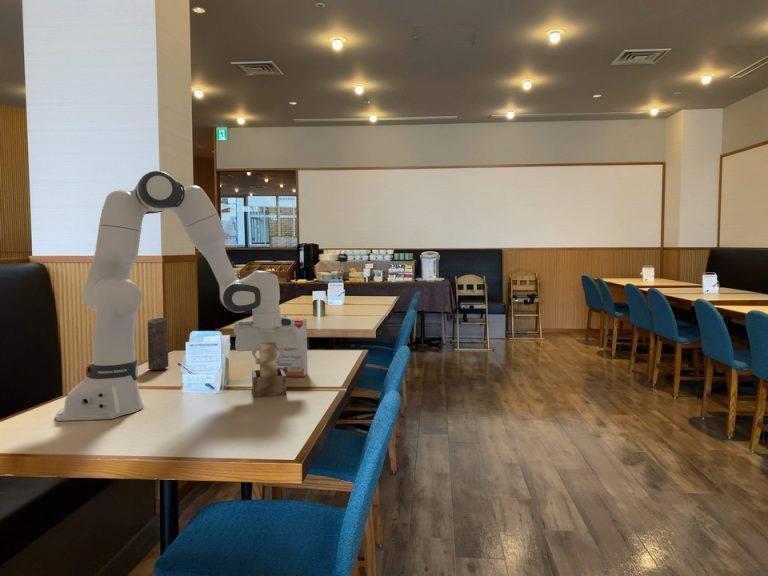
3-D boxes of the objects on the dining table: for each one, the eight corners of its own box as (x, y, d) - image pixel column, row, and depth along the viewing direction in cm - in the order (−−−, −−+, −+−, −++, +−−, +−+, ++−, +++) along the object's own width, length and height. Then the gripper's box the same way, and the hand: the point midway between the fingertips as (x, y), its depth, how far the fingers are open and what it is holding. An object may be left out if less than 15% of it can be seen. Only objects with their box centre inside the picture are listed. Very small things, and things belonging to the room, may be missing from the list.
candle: (173, 368, 219) (171, 318, 218) (156, 372, 213) (154, 320, 212) (160, 367, 223) (158, 317, 222) (144, 370, 217) (142, 319, 216)
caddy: (254, 397, 175) (253, 378, 174) (252, 387, 187) (251, 369, 187) (286, 394, 177) (285, 376, 177) (282, 385, 190) (282, 367, 189)
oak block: (261, 381, 178) (260, 344, 177) (260, 376, 185) (258, 340, 184) (277, 380, 179) (276, 343, 178) (275, 375, 187) (274, 339, 186)
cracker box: (266, 377, 202) (264, 319, 201) (271, 373, 208) (269, 317, 207) (304, 377, 201) (302, 319, 199) (308, 373, 207) (306, 317, 205)
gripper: (233, 323, 175) (235, 367, 176) (299, 320, 180) (300, 362, 181) (233, 321, 181) (234, 363, 182) (296, 318, 186) (298, 359, 187)
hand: (268, 362), depth 182 cm, fingers closed on oak block, 5 cm apart
